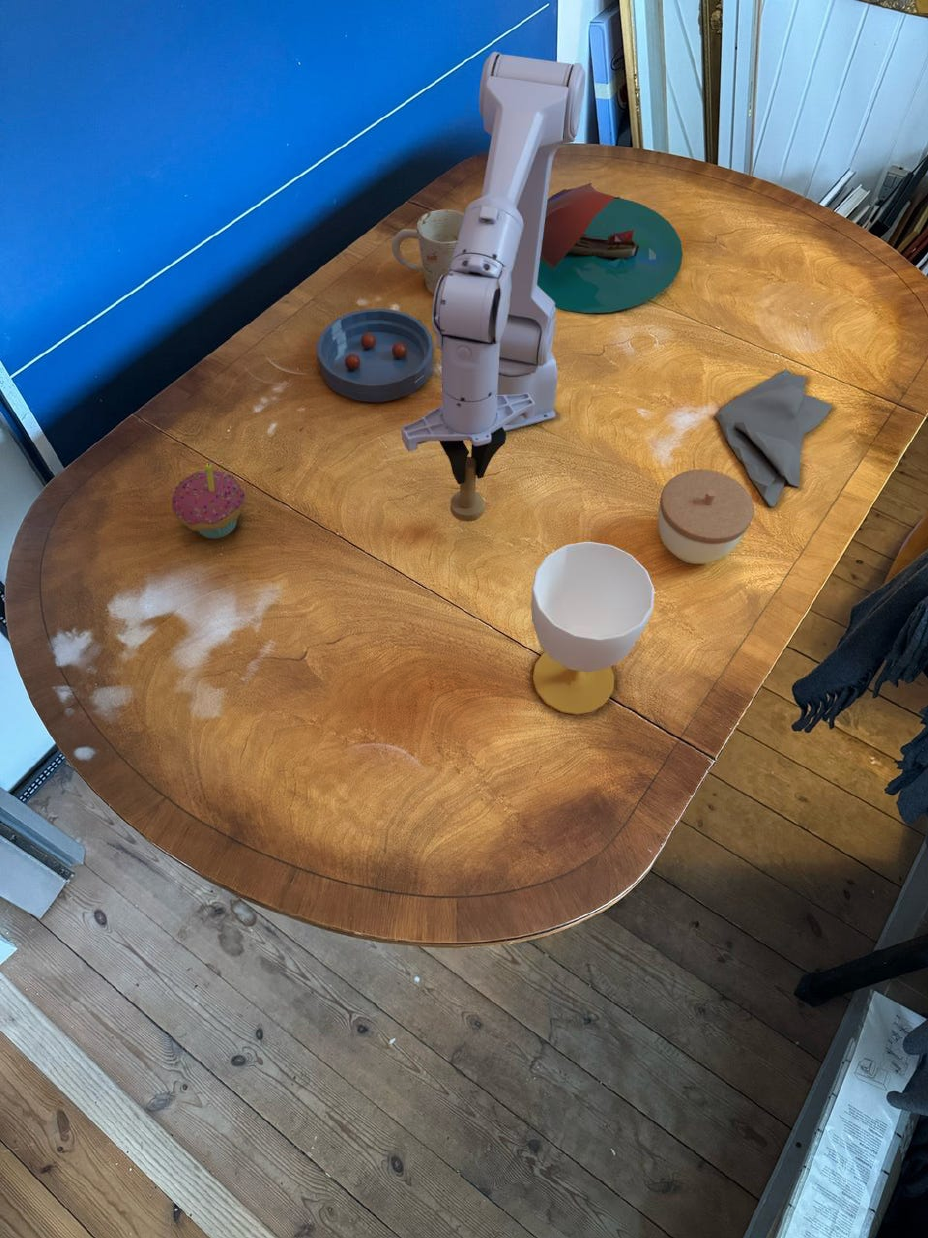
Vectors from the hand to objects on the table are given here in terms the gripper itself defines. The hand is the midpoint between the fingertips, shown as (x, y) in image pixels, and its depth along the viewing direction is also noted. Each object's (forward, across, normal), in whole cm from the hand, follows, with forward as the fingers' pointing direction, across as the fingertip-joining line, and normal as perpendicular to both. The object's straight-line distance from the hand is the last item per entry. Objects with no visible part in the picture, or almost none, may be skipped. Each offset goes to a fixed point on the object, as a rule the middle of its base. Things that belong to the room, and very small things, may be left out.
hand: (467, 474), depth 102 cm
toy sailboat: (+11, +40, +45) cm, 61 cm away
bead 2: (+9, 0, +37) cm, 38 cm away
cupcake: (+10, -28, +12) cm, 33 cm away
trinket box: (+10, +25, -12) cm, 30 cm away
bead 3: (+9, +3, +33) cm, 35 cm away
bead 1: (+9, -4, +33) cm, 35 cm away
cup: (+10, +3, -24) cm, 26 cm away
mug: (+11, +14, +48) cm, 51 cm away
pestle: (+6, 0, 0) cm, 6 cm away
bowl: (+10, 0, +33) cm, 35 cm away
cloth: (+11, +45, +2) cm, 46 cm away
